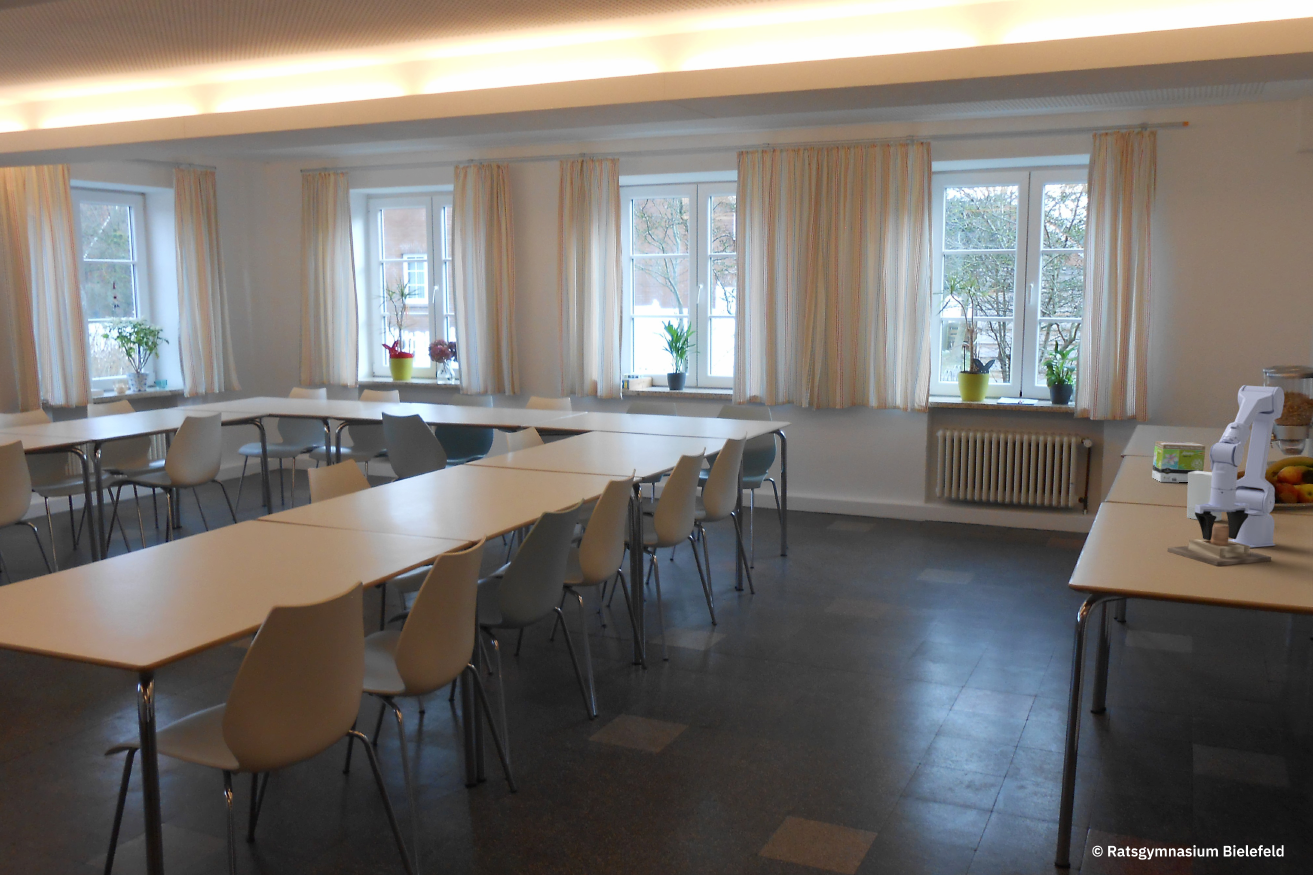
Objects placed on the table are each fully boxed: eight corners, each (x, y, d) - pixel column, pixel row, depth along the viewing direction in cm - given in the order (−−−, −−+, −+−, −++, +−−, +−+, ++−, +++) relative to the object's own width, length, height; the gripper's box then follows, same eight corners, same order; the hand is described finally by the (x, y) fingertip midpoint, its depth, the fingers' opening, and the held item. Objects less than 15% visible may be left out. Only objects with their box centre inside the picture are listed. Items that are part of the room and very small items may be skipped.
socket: (1219, 546, 275) (1220, 534, 275) (1271, 560, 260) (1272, 547, 259) (1167, 551, 270) (1168, 538, 269) (1216, 565, 255) (1217, 552, 254)
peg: (1210, 549, 267) (1212, 524, 266) (1227, 551, 265) (1229, 525, 264) (1209, 552, 264) (1211, 526, 263) (1226, 554, 262) (1228, 528, 261)
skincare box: (1221, 520, 309) (1225, 473, 307) (1211, 522, 306) (1215, 474, 304) (1194, 515, 316) (1198, 469, 314) (1184, 517, 313) (1187, 471, 311)
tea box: (1160, 482, 375) (1162, 443, 373) (1151, 478, 385) (1154, 440, 383) (1203, 484, 373) (1205, 444, 371) (1193, 479, 383) (1196, 441, 381)
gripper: (1236, 484, 268) (1232, 534, 269) (1188, 486, 265) (1184, 536, 267) (1256, 489, 261) (1252, 540, 262) (1207, 491, 258) (1203, 542, 260)
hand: (1219, 538), depth 264 cm, fingers open, 7 cm apart
